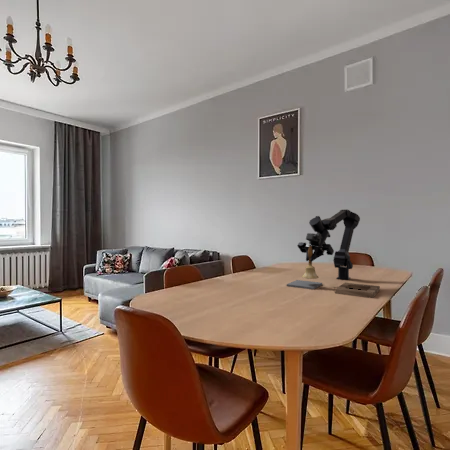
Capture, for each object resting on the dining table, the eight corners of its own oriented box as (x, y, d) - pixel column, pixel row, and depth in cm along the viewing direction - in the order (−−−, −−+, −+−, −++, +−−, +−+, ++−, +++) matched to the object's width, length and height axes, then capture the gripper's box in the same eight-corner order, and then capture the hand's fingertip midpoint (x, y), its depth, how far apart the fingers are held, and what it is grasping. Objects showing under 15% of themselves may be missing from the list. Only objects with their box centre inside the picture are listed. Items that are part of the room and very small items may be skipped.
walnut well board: (345, 286, 159) (345, 282, 159) (379, 290, 150) (379, 286, 150) (335, 293, 145) (335, 288, 145) (372, 297, 135) (372, 293, 135)
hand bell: (309, 275, 165) (309, 245, 165) (322, 277, 158) (321, 246, 158) (298, 277, 161) (298, 246, 161) (310, 279, 154) (310, 247, 153)
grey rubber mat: (297, 281, 172) (296, 279, 172) (322, 284, 164) (322, 282, 164) (286, 286, 161) (286, 284, 161) (313, 289, 153) (313, 287, 153)
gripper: (299, 227, 169) (286, 249, 162) (330, 227, 154) (318, 252, 147) (307, 241, 174) (296, 262, 167) (338, 242, 160) (327, 266, 153)
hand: (308, 260), depth 158 cm, fingers closed on hand bell
